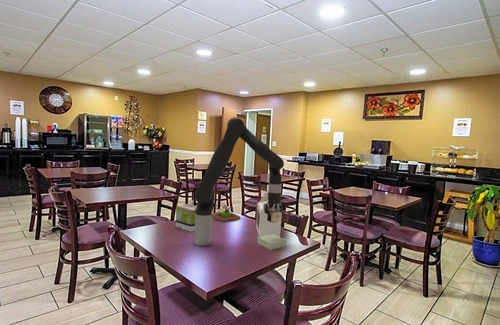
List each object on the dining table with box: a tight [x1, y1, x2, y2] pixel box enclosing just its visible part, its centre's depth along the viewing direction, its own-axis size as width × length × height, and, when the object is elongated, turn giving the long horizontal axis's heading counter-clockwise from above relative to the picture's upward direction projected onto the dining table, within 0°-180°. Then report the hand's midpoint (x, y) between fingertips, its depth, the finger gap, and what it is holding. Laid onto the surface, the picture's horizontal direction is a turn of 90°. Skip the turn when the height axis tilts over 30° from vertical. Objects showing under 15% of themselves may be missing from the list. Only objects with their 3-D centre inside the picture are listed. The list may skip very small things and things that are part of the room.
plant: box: [212, 204, 241, 223], centre depth 219 cm, size 20×20×11 cm
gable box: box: [255, 192, 283, 237], centre depth 190 cm, size 22×13×28 cm, turn 3°
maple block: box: [267, 210, 280, 223], centre depth 167 cm, size 5×5×6 cm
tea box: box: [175, 203, 197, 233], centre depth 191 cm, size 15×10×15 cm, turn 55°
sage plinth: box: [256, 234, 287, 251], centre depth 168 cm, size 12×12×4 cm
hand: (272, 220), depth 167 cm, fingers closed on maple block, 5 cm apart
